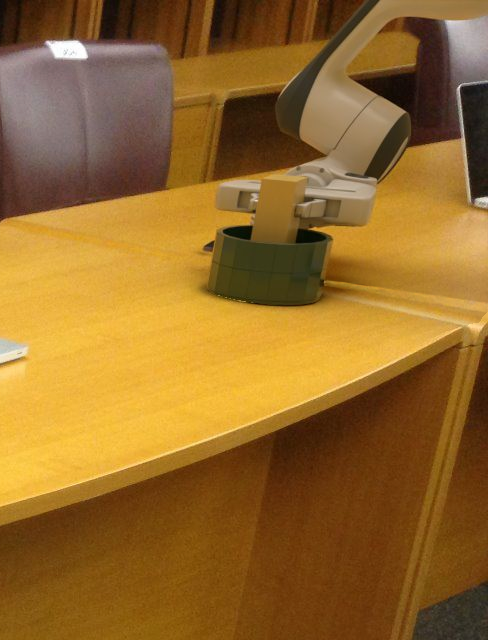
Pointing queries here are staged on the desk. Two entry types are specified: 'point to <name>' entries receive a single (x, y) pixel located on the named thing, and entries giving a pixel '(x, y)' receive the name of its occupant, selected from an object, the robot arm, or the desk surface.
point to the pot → (269, 267)
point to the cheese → (278, 208)
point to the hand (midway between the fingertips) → (277, 208)
